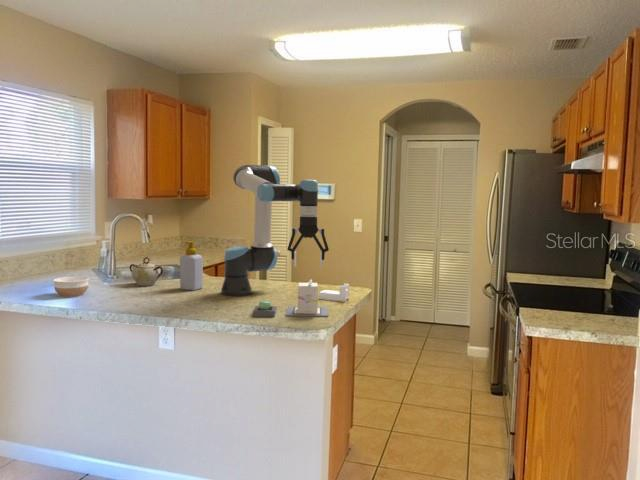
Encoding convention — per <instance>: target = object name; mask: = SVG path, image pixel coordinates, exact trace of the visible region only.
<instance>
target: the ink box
mask: <svg viewBox="0 0 640 480" xmlns="http://www.w3.org/2000/svg"><path fill="white" fill-rule="evenodd" d="M297 287H298V288H297V289H298V290H297V306H298V312H299V313H317V312H318V307H319V306H318V305H319V304H318V303H319V301H318V299H319V292H318V291H319V285H318V282H313V278H311V279H309V281H308V282H298V286H297Z"/></svg>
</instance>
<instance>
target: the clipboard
mask: <svg viewBox="0 0 640 480" xmlns="http://www.w3.org/2000/svg"><path fill="white" fill-rule="evenodd" d="M285 317H302V318H303V317H305V318H306V317H310V318H316V317H317V318H319V317H320V318H329V308H328V306H318V312H317V313H299V312H298V305H296V306H295V305H294V306H291V305H289V306H287V308H286V311H285Z"/></svg>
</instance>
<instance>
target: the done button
mask: <svg viewBox="0 0 640 480" xmlns="http://www.w3.org/2000/svg"><path fill="white" fill-rule="evenodd" d="M258 306H259V310H270V309H271V306H272V301H270V300H261V301H259V302H258Z"/></svg>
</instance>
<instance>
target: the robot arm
mask: <svg viewBox="0 0 640 480" xmlns="http://www.w3.org/2000/svg"><path fill="white" fill-rule="evenodd" d="M232 178H233V179H232V180H233V182H234V184H235V186H237V187H238V188H240V189H242V190H248V191H250V192H252V193H253V195H254V219H253V220H254V228H253V242H252V243H251V244H250V248H249V247H248V246H245V245H244V246H243V245H242V246H233V247H230V248H227V249H226V250H225V251H224V280H223V283H222V286H221V291H220V292H221V295H224V296H231V297H239V296H248V295H250V294H252V286H251V283H250V279H249V272H251V273H252V272H266V271H271V270H273V269H274V268H275V267H276V265H277V264H278V263H277V262H278V251H277V249H276V248H275V247H274V244H273V243H272V238H271V237H272V214H273V213H272V212H273V211H272V209H273V202H299V216H300V217H299V227H298V228H297V227H293V228H292V229H291V230H292V234H291V236H290V240H289V243H288V246H287V251H289V252H290V253H291V260H293V268H297V251H296V249H297V248H298V246H299V244H300V243H301V241H302V240H303V239H304V238H305V239H306V238H309V239H312V238H313V240H314V241H315V243H316V244H317V246H318V248H319V250H320V252H319V269H321V268H322V265H323V264H322V263H323V261H324V260H325V254H326V253H327V252H329V250H330V249H329V245H328V242H327V239H326V236H325V228H323V227H322V228H319V227H318V200H319V199H318V198H319V197H318V195H319V193H318V192H319V187H318V185H319V184H318V183H319V182H318V180H316V179H301V180H300V181H299V184H298V183H290V184H289V183H281V177H280V173H279V171H278V169H277V167H275V166H274V165H268V164H266V165H263V164H245V165H241V166H239V167H238V168H237V169H236V170H235V171H234V173H233V177H232ZM298 232H299V233H300V236H299V238H298V239H297V241H296V242H295V244H294V245H293V243H294V240H295V239H294V238H295V237H296V234H297V233H298ZM318 232H319V234H320V235H321V240H322V242H323V245H324V247H323V245H322V243H321V242H320V240H319V239H318V236H317V234H318ZM292 245H293V246H292Z"/></svg>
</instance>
